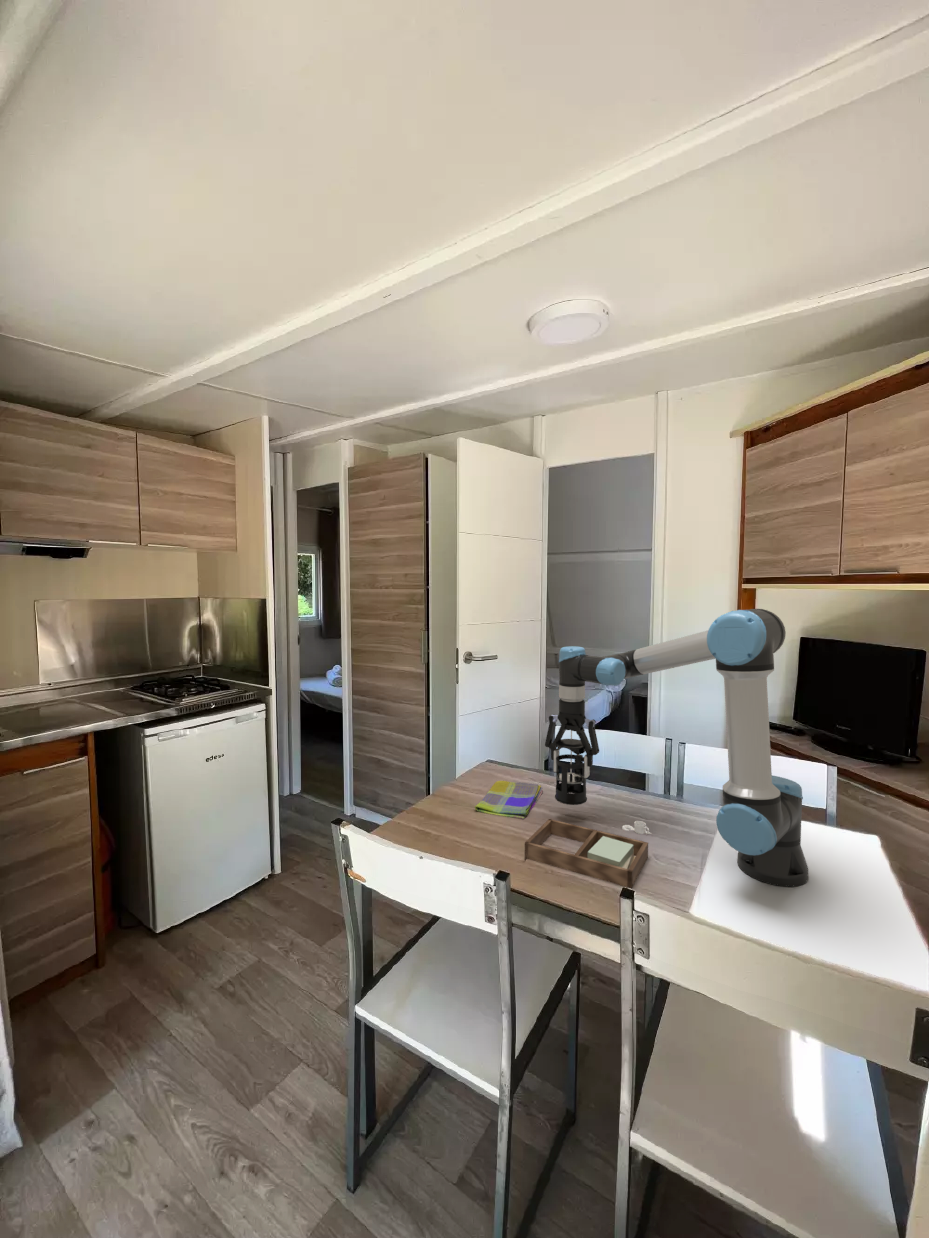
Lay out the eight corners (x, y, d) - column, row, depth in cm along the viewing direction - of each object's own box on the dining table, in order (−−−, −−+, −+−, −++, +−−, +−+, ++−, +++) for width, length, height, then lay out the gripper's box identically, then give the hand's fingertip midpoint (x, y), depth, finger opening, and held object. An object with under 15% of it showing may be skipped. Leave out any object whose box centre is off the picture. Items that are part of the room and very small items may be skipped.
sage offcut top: (633, 852, 133) (633, 844, 133) (619, 870, 125) (619, 862, 125) (603, 843, 138) (603, 835, 138) (587, 859, 130) (587, 852, 130)
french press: (577, 808, 151) (578, 729, 149) (548, 800, 156) (548, 724, 155) (594, 795, 160) (595, 720, 158) (565, 788, 166) (566, 715, 164)
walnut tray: (647, 861, 135) (648, 842, 135) (631, 893, 121) (631, 872, 121) (549, 835, 149) (549, 818, 149) (524, 861, 136) (524, 842, 135)
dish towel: (471, 812, 166) (471, 804, 166) (495, 785, 189) (495, 777, 188) (526, 821, 160) (526, 812, 159) (544, 791, 182) (544, 783, 182)
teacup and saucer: (617, 831, 152) (617, 818, 152) (640, 827, 154) (641, 814, 154) (636, 846, 144) (636, 831, 143) (660, 841, 146) (660, 827, 146)
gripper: (611, 700, 154) (610, 776, 155) (543, 692, 165) (543, 763, 167) (603, 705, 147) (603, 784, 149) (533, 697, 159) (533, 770, 160)
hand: (571, 773), depth 158 cm, fingers closed on french press, 9 cm apart
